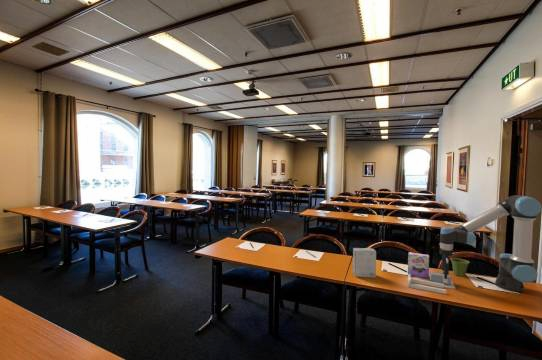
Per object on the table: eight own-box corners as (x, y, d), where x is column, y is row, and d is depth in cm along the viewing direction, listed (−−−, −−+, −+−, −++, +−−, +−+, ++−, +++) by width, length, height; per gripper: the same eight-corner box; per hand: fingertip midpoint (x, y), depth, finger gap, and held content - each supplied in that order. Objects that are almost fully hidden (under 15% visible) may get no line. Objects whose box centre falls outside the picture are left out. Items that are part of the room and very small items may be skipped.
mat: (452, 282, 185) (452, 282, 185) (455, 289, 175) (455, 288, 175) (434, 279, 190) (434, 279, 190) (436, 285, 180) (436, 284, 180)
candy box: (407, 274, 198) (408, 253, 198) (407, 272, 204) (408, 251, 203) (428, 278, 192) (429, 256, 191) (428, 275, 197) (428, 254, 197)
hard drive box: (373, 273, 199) (373, 248, 198) (376, 278, 192) (376, 251, 191) (352, 272, 201) (353, 247, 200) (354, 276, 193) (355, 250, 192)
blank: (449, 282, 183) (449, 275, 183) (450, 284, 179) (451, 277, 179) (429, 278, 188) (430, 271, 188) (430, 281, 184) (431, 274, 184)
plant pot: (472, 276, 197) (473, 262, 197) (462, 278, 193) (462, 264, 192) (456, 271, 208) (456, 257, 208) (446, 272, 204) (446, 258, 203)
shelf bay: (443, 287, 178) (443, 280, 177) (446, 294, 168) (446, 286, 167) (408, 281, 187) (408, 274, 187) (408, 287, 177) (408, 279, 177)
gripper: (438, 245, 191) (436, 275, 192) (441, 251, 176) (440, 285, 176) (450, 246, 188) (448, 278, 189) (455, 253, 172) (453, 287, 173)
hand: (444, 281), depth 183 cm, fingers closed on blank, 5 cm apart
